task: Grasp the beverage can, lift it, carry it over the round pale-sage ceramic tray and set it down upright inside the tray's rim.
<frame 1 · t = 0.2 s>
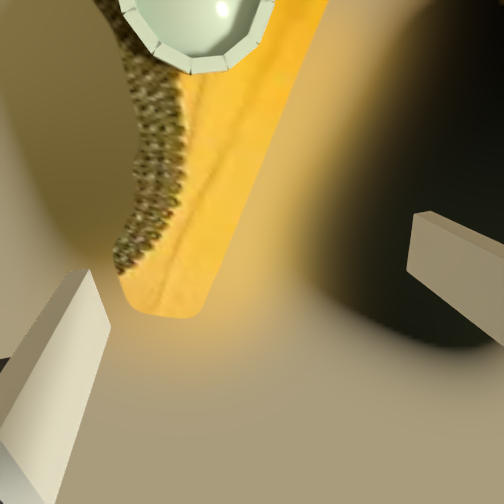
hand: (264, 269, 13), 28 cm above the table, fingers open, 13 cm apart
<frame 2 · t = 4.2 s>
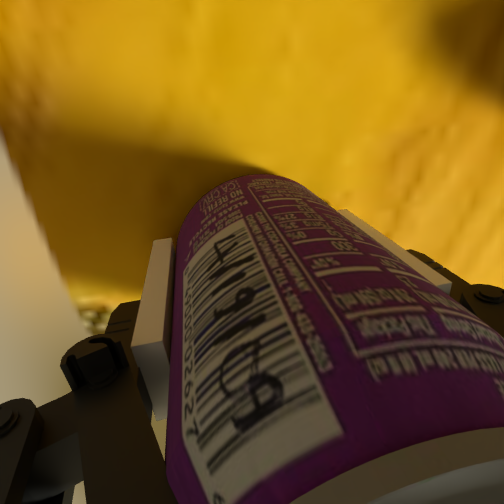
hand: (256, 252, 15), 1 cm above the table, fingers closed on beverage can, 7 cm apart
beverage can: (253, 245, 15), on the table, touching gripper
when the fingers open (4 cm above the table, at t = 9.4 s): beverage can drops 3 cm, resting on tray.
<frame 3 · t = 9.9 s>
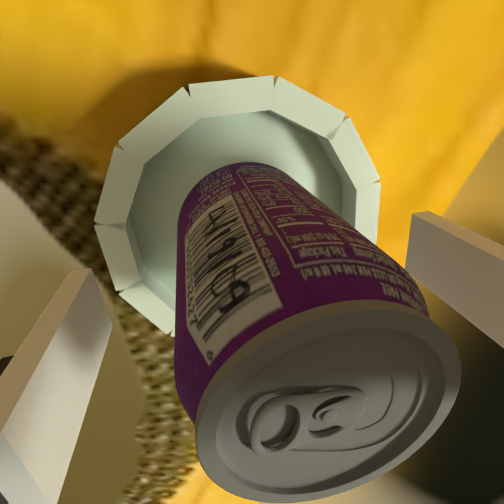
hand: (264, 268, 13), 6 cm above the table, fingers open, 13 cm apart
tray: (241, 219, 18), on the table
beverage can: (243, 223, 18), point 1 cm above the table, touching tray
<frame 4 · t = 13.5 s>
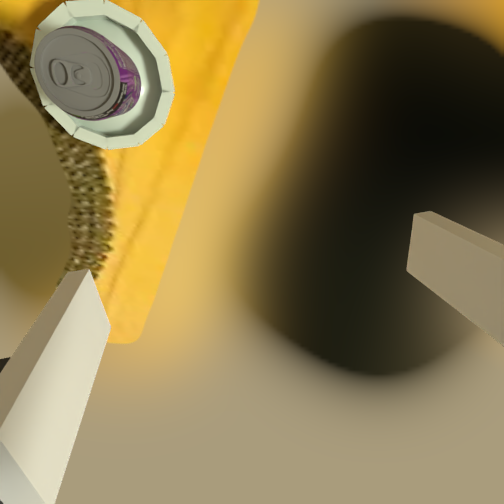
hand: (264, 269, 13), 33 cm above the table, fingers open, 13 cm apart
tray: (110, 81, 37), on the table
beverage can: (109, 81, 36), point 1 cm above the table, touching tray
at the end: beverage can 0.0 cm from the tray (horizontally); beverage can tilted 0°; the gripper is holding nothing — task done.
